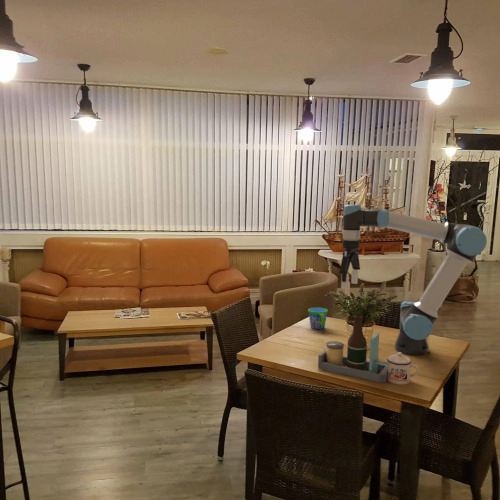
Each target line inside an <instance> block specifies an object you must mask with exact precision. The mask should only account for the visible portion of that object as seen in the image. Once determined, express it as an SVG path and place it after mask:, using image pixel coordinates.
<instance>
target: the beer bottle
mask: <svg viewBox="0 0 500 500" xmlns="http://www.w3.org/2000/svg"><path fill="white" fill-rule="evenodd" d="M353 318H354V319H353V327H352V333H351V335H350V336H349V338H348V341H347V354H346V357H347V364H346V367H350V368H354V369H359V370H364V371H367V370H366V361H367V355H368V354H367V353H368V351H367V349H368V348H367V347H368V342H367V339H366V337H365V335H364V330H363V318H364V316H363V314H360V313H359V314H357V313H355V314H354V315H353Z"/></svg>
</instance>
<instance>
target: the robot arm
mask: <svg viewBox="0 0 500 500" xmlns="http://www.w3.org/2000/svg"><path fill="white" fill-rule="evenodd" d="M361 227H371V228H372V227H373V228H376V227H378V228H387V229H392V230H395V231H400V232H404V233H408V234H413V235H418V236H421V237H426V238H430V239H434V240H438V241H439V242H440V243H442V244H445V245H447V247H446V248H445V249H446V253H447V254H446V255H445V257H444V259H443V261H442V262H441V264H440V265H439V267H438V269H437V271H436V272H435V274H434V276H433V277H432V278H431V280H430V281H429V283H428V285H427V286H426V288H425V290H424V292H423V293H422V294H421V297H420V298H419V300H418V301H409V300H408V301H407V300H406V301H402V302H401V303H400V307H399V308H400V312H399V313H400V317H399V332H398V335H397V338H396V340H395V342H394V348H395V350H396V351H397V352H401V353H402V354H404V355H405V354H406V355H411V356H423V355H426V354H428V353H429V352H430V351H429V350H430V349H429V348H430V346H429V344H428V342H429V341H428V340H427V338H429V337H430V335H431V334H432V332H433V327H434V324H435V322H436V321H437V319H438V317H439V315H438V311H439V309H440V307H441V306H442V304H443V302H444V301H445V299H446V298H447V297H448V294H449V293H450V291H451V290H452V288H453V287H454V285H455V283H457V280H458V278H459V277H460V275H461V274H462V272H464V269H465V267H466V266H467V264H470V263H473V262H474V261H475V259H476V257H477V255H479V254H481V253H482V252H483V251H484V250H485V248H486V246H487V243H488V240H487V236H486V234H485V232H484V231H483V229H481V228H480V227H477V226H474V225H471V224H466V223H465V224H464V223H454V222H448V221H446V222H444V223H443V222H439V221H435V220H431V219H425V218H421V217H415V216H411V215H408V214H407V215H406V214H403V213H399V212H394V211H389V210H388V209H379V208H377V207H372V208H370V209H363V208H362V205H361V204H346V205H344V206H343V214H342V231H341V234H342V244H341V246H342V248H343V249H345V251H342V258H341V263H340V267H339V273H338V274H339V275H341V277H340V278H341V280H340V289H342V290H348V287H349V274H348V272H349V270H350V266H351V267H352V269H351V279H350V281H351V282H350V283H351V284H354V285H358V281H359V270H361V266H360V258H359V249H360V244H361V241H360V239H361Z"/></svg>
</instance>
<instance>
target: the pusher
mask: <svg viewBox="0 0 500 500" xmlns="http://www.w3.org/2000/svg"><path fill="white" fill-rule="evenodd" d="M379 342H380V333H379V332H377V333H375V334H374V335H373V336H372V337H371V338H370V339H369V360H368V361H369V369H368V371H369V372H373V373H377V372H379V371H378V363H380V364H385V365H387V364H388V361H385V360H380V359H379V345H380V343H379Z"/></svg>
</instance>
